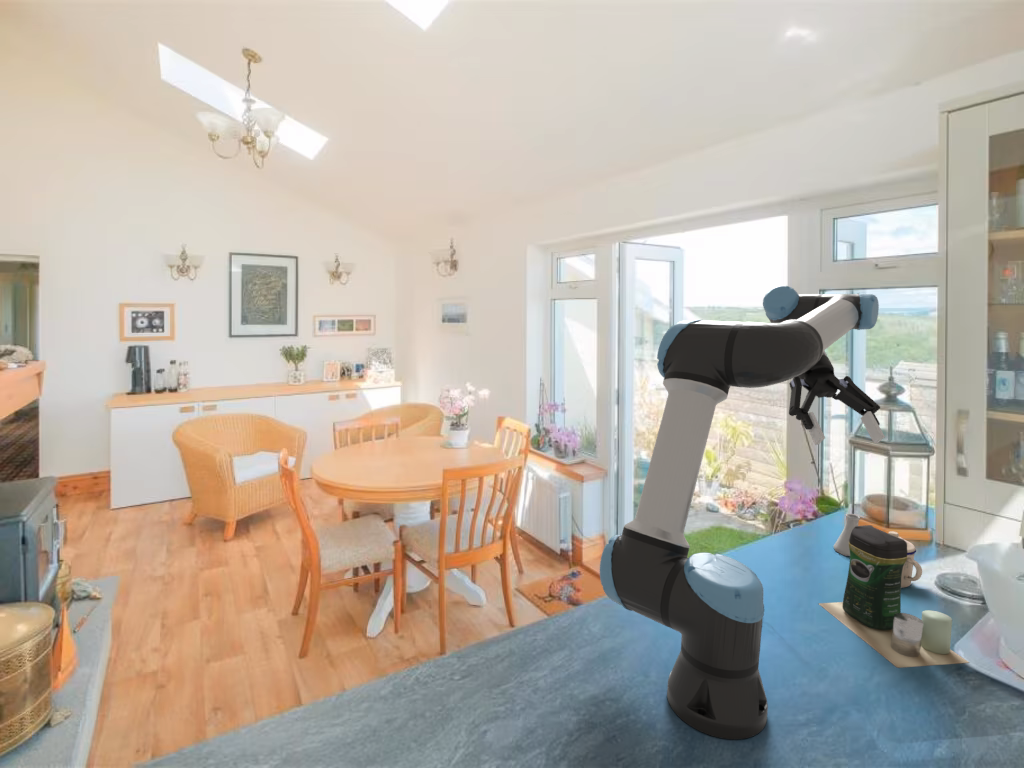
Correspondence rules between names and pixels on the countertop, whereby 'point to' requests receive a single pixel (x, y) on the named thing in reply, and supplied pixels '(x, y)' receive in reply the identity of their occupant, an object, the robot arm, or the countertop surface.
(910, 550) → the teacup with lid
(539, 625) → the countertop surface
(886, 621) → the coffee jar
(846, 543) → the flask
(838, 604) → the birch board
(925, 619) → the sage tin
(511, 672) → the countertop surface
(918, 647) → the shiny silver cylinder
